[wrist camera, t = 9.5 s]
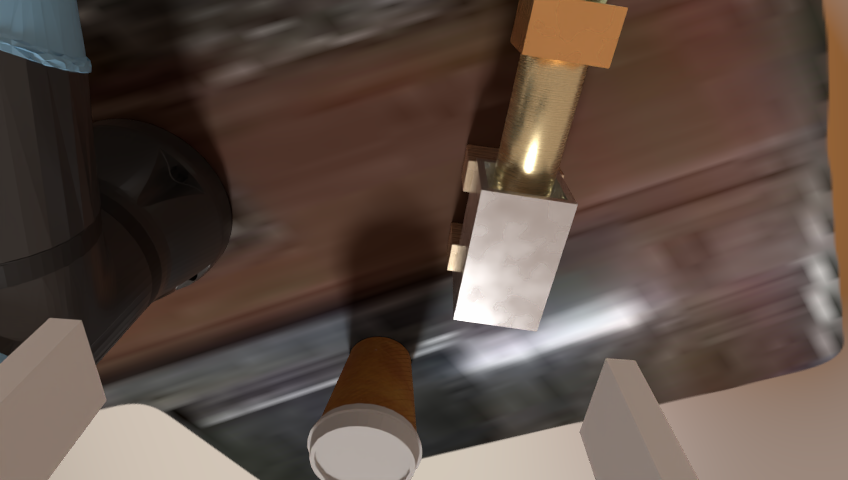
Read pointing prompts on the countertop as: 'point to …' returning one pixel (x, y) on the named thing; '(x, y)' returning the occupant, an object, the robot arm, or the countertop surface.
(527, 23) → the cylinder on square base
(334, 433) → the disposable coffee cup
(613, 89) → the countertop surface
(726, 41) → the countertop surface
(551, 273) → the white blocky legged figure
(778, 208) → the countertop surface
